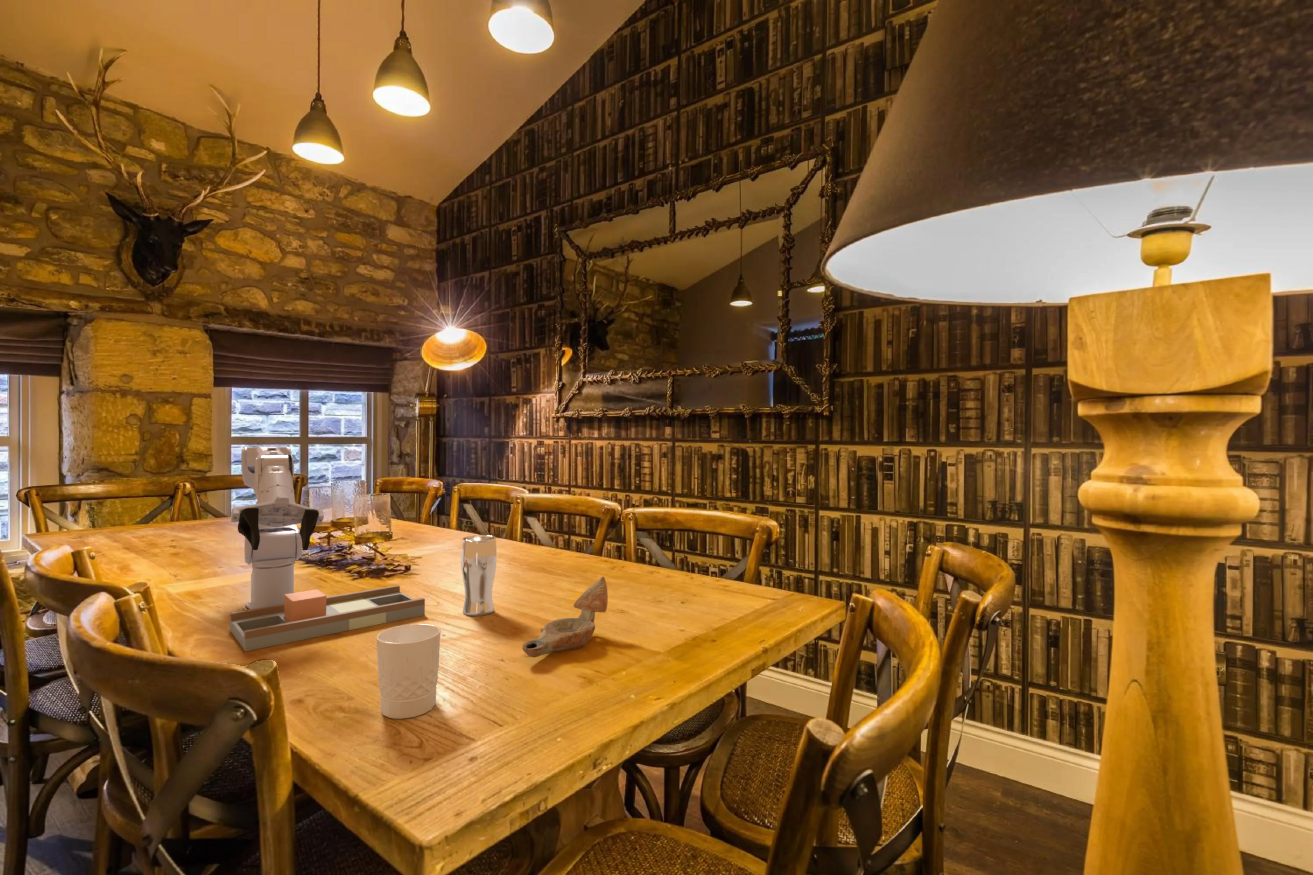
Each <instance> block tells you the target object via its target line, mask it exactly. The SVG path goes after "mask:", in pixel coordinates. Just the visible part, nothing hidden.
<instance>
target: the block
mask: <svg viewBox="0 0 1313 875" xmlns="http://www.w3.org/2000/svg"><path fill="white" fill-rule="evenodd" d="M326 597H327V595H326V594H324V593H323V591H320V590H319V589H318V588H317V589H311V590H305V591H304V590H303V591H297V592H294V593H290V594H284V616H285V617H286V618H287V619H288V620H289V621H290V622H294V621H299V620H305V619H310V618H316V617H321V616H326Z"/></svg>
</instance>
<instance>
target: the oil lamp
mask: <svg viewBox="0 0 1313 875" xmlns="http://www.w3.org/2000/svg"><path fill="white" fill-rule="evenodd" d="M608 596H609V595H608V585H607V581H606V577H605V576H600V578H599V579H598V580H597V581H595V582H594V583H593V584H591V585H590V586H589V587H588V588H587V589H585V591H584V592H582V593H581V595H579V597H578V598H577V599H576V600H575V601H574V603H573V608H575V609H577V610H581V611H580V614H579V615H578V617H565V618H558V619H554V620H551V621H549V622H546V623H545V625H544V626H543V627H542V628H540V633H541V634H540V635H539V637H538V638H537V637H536V638H535V637H534V638H532V639H531V640H528V641H526V642H524V643H523V644H522V646H521V648H522V650H523V653H525V655H527V656H528V657H530V658H538V657H540V656H543V655H547V654H550V653H556V652H561V651H569V650H577V649H581V648H582V647H584V646H586V644H588V642H589V641H590V639H591V638H592V637H593V635H594V633H595V630H596V624H595V619H596V618H595V617H596V613H606V612H607V608H608V604H609V603H608V602H609V601H608V598H609V597H608Z"/></svg>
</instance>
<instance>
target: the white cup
mask: <svg viewBox="0 0 1313 875" xmlns="http://www.w3.org/2000/svg"><path fill="white" fill-rule="evenodd" d="M441 632H442V631H441V628H440V627H438V626H436V625H433V624H428V623H411V624H410V623H409V624H401V625H398V626H392V627H390V628H389V627H388V628H387V629H384V630H381V631H380V632H379V633H378V634H377V635H376V651H377V652H376V653H377V676H378V677H377V678H378V691H379V694H380V696H379V697H380V711H381V714H382V715H383V716H385V717H387V718H389V719H395V720H396V719H398V720H402V719H411V718H415V717H419V716H422V715H424V714H426V713H428V712H429V711H431V710H432V709H433V708H434V707H435V705H436V704H437V685H438V681H439V666H440V664H439V663H440V650H441V649H440V648H441V644H440V643H441Z"/></svg>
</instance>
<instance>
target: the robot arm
mask: <svg viewBox="0 0 1313 875" xmlns="http://www.w3.org/2000/svg"><path fill="white" fill-rule="evenodd" d="M240 464H241V476H242V477H241V479H242V481H243V485H244V486H247V487H249V488H251V489H252V490H253V493H254V494H255V497H256V501H257V503H253V504H249V505H243V506H232V510H231V514H230V522H231V523H237V532H238V533H239V534H241V536H244V562H245V563H246V564H247V565H251V568H252V571H251V573H250V601H247V602H245V603H244V605H245V606H246V607H247V609H248V610H250V609H257V608H263V607H269V606H275V605H281V604H284V594H290V593H295V589H294V588H295V581H294V580H295V578H294V576H295V564H296V561H298V560H300V558H301V557H302V555H303V554H302V553H303V551H308V549H309V547H310V543H311V537H312V535H313V534H314V532H315V529H316V526H317V525H322V524H323V521H324V517H325V515H324V510H323V509H316V508H312V507H309V506H306V505H303V504H298V503H296V500H295V499H296V498H295V489H294V482H293V481H294V475H295V465H294V464H295V463H294V458H293V455H292V450H291V448H290V447H289V446H253V447H252V446H251V447H250V446H249V447H247V446H244V447H243V448H241V462H240ZM298 524H300V528H299V527H298Z"/></svg>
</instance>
